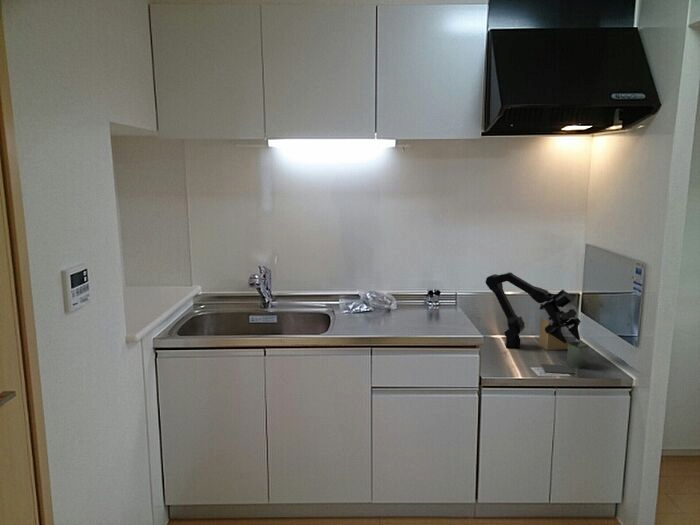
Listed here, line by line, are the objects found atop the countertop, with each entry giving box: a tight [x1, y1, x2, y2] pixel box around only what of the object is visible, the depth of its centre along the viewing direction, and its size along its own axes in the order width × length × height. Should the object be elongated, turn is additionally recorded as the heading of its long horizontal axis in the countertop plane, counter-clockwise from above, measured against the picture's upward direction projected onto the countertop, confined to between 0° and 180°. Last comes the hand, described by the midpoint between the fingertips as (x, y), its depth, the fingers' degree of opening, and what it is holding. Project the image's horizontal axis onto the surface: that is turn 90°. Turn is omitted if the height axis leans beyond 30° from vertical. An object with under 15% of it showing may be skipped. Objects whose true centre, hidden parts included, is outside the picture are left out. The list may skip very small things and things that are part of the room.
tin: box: [566, 341, 589, 369], centre depth 226 cm, size 6×6×10 cm
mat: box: [540, 363, 575, 375], centre depth 222 cm, size 12×9×1 cm
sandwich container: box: [538, 317, 570, 351], centre depth 250 cm, size 9×15×15 cm, turn 98°
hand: (572, 341), depth 228 cm, fingers open, 9 cm apart
